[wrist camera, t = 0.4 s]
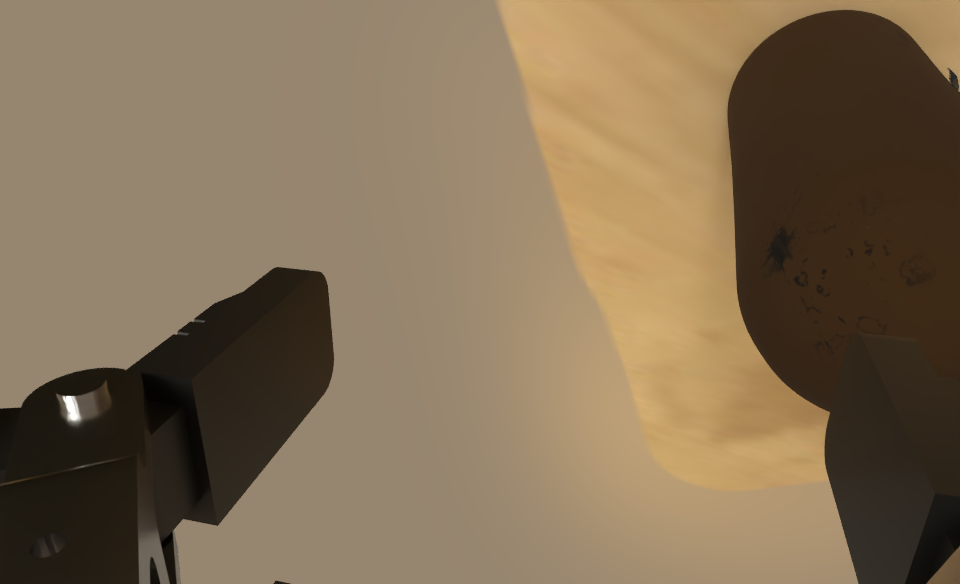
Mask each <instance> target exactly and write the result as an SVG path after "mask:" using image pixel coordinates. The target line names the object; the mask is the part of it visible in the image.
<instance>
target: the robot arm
mask: <svg viewBox="0 0 960 584" xmlns="http://www.w3.org/2000/svg"><path fill="white" fill-rule="evenodd" d="M328 295H329V294H328V285H327V281H326V279H325V277H324V275H323V274H322V273H321V272H317V271H309V270H299V269H289V268H281V267H276V268H274V269H272V270H271V271H269V272H268V273H267V274H266V275H264V276H263V277H262V278H260V279H259V280H258V281H257V282H255V283H254V284H253V285H251V286H250V287H249V288H247V289H246V290H245V291H244V292H241V293H239V294H236V295H234V296H232V297H229V298H227V299H224V300H222V301H219V302H217V303H214V304H213V305H212V306H210V307H209V308H208V309H206V310H205V311H204V312H203V313H201V314H200V315H199V316H197V317H196V318H195V319H194V322H189V323H188V324H187V325H185V326H184V327H183V328H182V329H180V330H179V331H178V334H177V335H172V336H171V337H169V338H168V339H167V340H165V341H164V342H163V343H161V344H160V345H159V346H158V347H156V348H155V349H154V350H152V351H151V352H149V353H148V354H147V355H145V356H144V357H143V358H141V359H140V360H139V361H137V362H136V363H135V364H133V365H132V366H131V367H130V368H128V369H127V370H125V369H120V368H94V369H87V370H82V371H77V372H73V373H70V374H66V375H64V376H61V377H59V378H56V379H54V380H51V381H49V382H47V383H45V384H44V385H42V386H40V387H39V388H37V389H36V390H34V391H33V392H32V393H31V394H30V395H29V396H28V397H27V398H26V399H25V400H24V402H23V404H22V406H21V408H3V409H0V584H181V582H180V568H179V557H178V546H177V542H176V537H175V532H174V529H175V528H176V526H177V525H178V524H179V523H180V522H181V520H183V519H186V520H192V521H197V522H202V523H207V524H212V525H217V526H218V525H219V523H220V522H221V521H222V520H223V519H224V517H225V516H226V515H227V514H228V512H229V511H230V510H231V509H232V507H233V506H234V505H235V504H236V502H237V501H238V500H239V498H241V496H242V495H243V494H244V493H245V491H246V490H247V489H248V488H249V486H250V485H251V484H252V483H253V481H254V480H255V479H256V478H257V476H258V475H259V474H260V473H261V472H262V470H263V469H264V468H265V467H266V465H267V464H268V463H269V462H270V460H271V459H272V458H273V457H274V455H275V454H276V453H277V452H278V450H279V449H280V448H281V447H282V445H283V444H284V443H285V442H286V441H287V439H288V438H289V437H290V435H291V434H292V433H293V432H294V431H295V429H296V428H297V427H298V425H299V424H300V423H301V422H302V421H303V419H304V418H305V417H306V415H307V414H308V413H309V412H310V411H311V409H312V408H313V407H314V406H315V405H316V403H317V402H318V401H319V400H320V398H321V397H322V396H323V395H324V393H325V392H326V390H327V388H328V386H329V383H330V380H331V377H332V372H333V365H334V352H333V341H332V329H331V317H330V306H329V296H328ZM825 465H826V470H827V474H828V477H829V481H830V484H831V488H832V491H833V495H834V498H835V502H836V505H837V509H838V512H839V516H840V519H841V523H842V527H843V530H844V534H845V537H846V540H847V544H848V547H849V551H850V555H851V558H852V562H853V565H854V569H855V572H856V576H857V579H858V583H859V584H960V382H959V381H958V380H957V379H955V378H950V377H942V376H938V375H937V373H936V371H935V370H934V368H933V367H932V365H931V363H930V362H929V360H928V358H927V357H926V355H925V353H924V352H923V350H922V348H921V347H920V345H919V344H918V342H917V341H916V340H915V339H914V338H905V337H896V336H887V335H878V334H869V333H860V332H855V333H854V334H853V335H852V336H851V337H850V339H849V342H848V344H847V347H846V351H845V355H844V359H843V363H842V367H841V371H840V375H839V379H838V383H837V387H836V391H835V395H834V399H833V403H832V408H831V412H830V416H829V420H828V424H827V429H826V436H825ZM274 584H289V583H284V582H279V581H275V583H274Z"/></svg>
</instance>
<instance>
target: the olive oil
mask: <svg viewBox="0 0 960 584" xmlns="http://www.w3.org/2000/svg"><path fill="white" fill-rule="evenodd" d="M948 70H950V69H948ZM949 73H950V74H951V76H950V75H949V76H950V77H951V78H949V79H951V80H950V82H951V83H950V82H949V81H948V80H947V79H946V78H945V77H944V76H943V74H942V73H941V72H940V71H939V70H938V68H937V67H936V66H935V65H934V63H933V62H932V61H931V60H930V59H929V57H928V56H927V55H926V54H925V53H924V51H923V50H922V49H921V48H920V47H919V45H918V44H917V43H916V42H915V41H914V39H913V38H912V37H911V36H910V35H909V34H908V33H907V32H906V31H904V30H903V29H902V28H901V27H899V26H898V25H897V24H895V23H893V22H892V21H890V20H888V19H885V18H883V17H881V16H878V15H875V14H872V13H868V12H862V11H854V10H837V11H828V12H822V13H818V14H814V15H811V16H807V17H805V18H802V19H799V20H797V21H795V22H793V23H791V24H789V25H787V26H785V27H783V28H781V29H780V30H778V31H777V32H775V33H774V34H772V35H771V36H770V37H768V38H767V39H766V40H765V41H764V42H762V43H761V44H760V45H759V46H758V47H757V48H756V49H755V50H754V51H753V52H752V54H751V55H750V56H749V57H748V59H747V60H746V61H745V63H744V64H743V66H742V67H741V69H740V71H739V72H738V74H737V76H736V79H735V81H734V83H733V86H732V89H731V93H730V97H729V102H728V128H729V139H730V150H731V161H732V178H733V198H734V219H735V248H736V279H737V293H738V300H739V306H740V310H741V314H742V317H743V320H744V323H745V325H746V328H747V330H748V332H749V334H750V336H751V338H752V340H753V342H754V344H755V345H756V347H757V349H758V350H759V352H760V353H761V355H762V356H763V358H764V359H765V361H766V362H767V364H768V365H769V366H770V368H771V369H772V370H773V371H774V372H775V374H776V375H777V376H778V377H779V378H780V379H781V380H782V381H783V382H784V383H785V384H786V385H787V386H788V387H790V388H791V389H792V390H793V391H795V392H796V393H797V394H798V395H800V396H801V397H803V398H804V399H806V400H808V401H809V402H811V403H813V404H815V405H816V406H818V407H820V408H822V409H824V410H827V411H829V412H831V408H832V403H833V399H834V395H835V391H836V387H837V383H838V379H839V375H840V371H841V367H842V363H843V359H844V355H845V351H846V347H847V344H848V342H849V339H850V337H851V336H852V335H853V334H854V333H855V332H860V333H869V334H878V335H887V336H896V337H905V338H914V339H915V340H916V341H917V342H918V344H919V345H920V347H921V348H922V350H923V352H924V353H925V355H926V357H927V358H928V360H929V362H930V363H931V365H932V367H933V368H934V370H935V371H936V373H937V375H938V376H942V377H950V378H955V379H957V380H958V381H959V382H960V92H959V91H958V90H959V85H958V79H957V76H956V75H955V74H954V73H953V72H952V71H951V70H950V72H949Z"/></svg>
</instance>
